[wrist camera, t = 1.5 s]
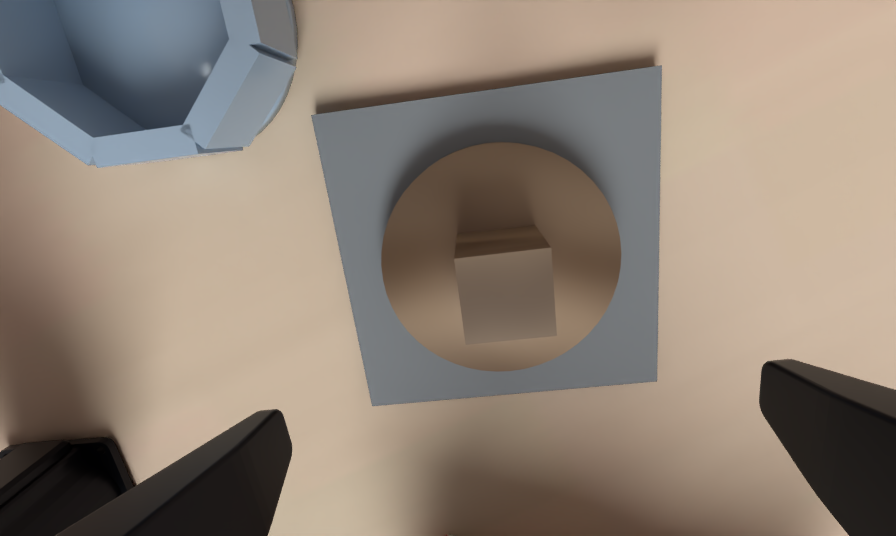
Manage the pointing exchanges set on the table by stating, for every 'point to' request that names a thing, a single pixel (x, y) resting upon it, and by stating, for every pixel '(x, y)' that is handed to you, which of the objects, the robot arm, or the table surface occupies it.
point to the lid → (501, 256)
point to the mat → (485, 121)
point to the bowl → (146, 74)
